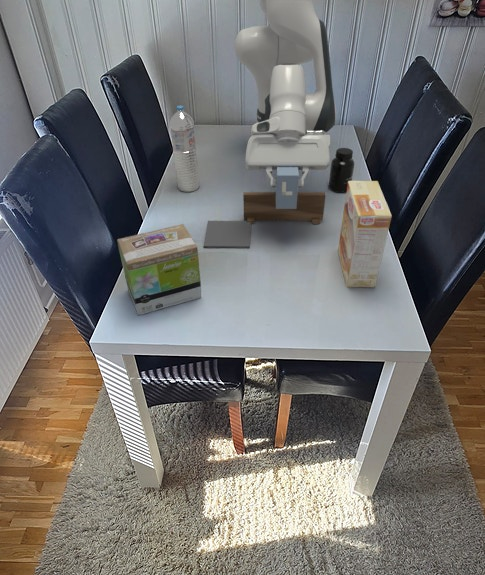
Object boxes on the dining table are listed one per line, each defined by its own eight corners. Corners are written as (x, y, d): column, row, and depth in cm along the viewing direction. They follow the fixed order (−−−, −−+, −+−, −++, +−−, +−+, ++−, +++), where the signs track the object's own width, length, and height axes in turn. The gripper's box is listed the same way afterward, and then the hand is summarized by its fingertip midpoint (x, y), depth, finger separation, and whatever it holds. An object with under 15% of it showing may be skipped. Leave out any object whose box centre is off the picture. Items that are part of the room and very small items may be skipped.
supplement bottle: (350, 194, 135) (356, 156, 127) (327, 192, 136) (332, 155, 128) (350, 183, 140) (356, 146, 132) (328, 181, 141) (333, 145, 133)
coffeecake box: (336, 249, 114) (347, 180, 101) (364, 249, 114) (378, 179, 101) (345, 287, 103) (357, 215, 90) (376, 288, 103) (393, 215, 90)
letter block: (275, 198, 113) (276, 165, 107) (295, 198, 113) (297, 165, 107) (275, 209, 109) (277, 175, 103) (296, 209, 109) (298, 175, 103)
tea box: (138, 318, 97) (125, 264, 87) (128, 290, 104) (114, 237, 94) (203, 298, 101) (197, 245, 91) (189, 273, 108) (182, 221, 98)
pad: (208, 222, 125) (207, 220, 124) (250, 222, 124) (250, 220, 124) (203, 247, 116) (203, 246, 115) (249, 248, 115) (249, 246, 115)
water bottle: (190, 180, 144) (181, 100, 127) (204, 187, 140) (197, 106, 124) (173, 187, 140) (162, 106, 124) (187, 195, 136) (177, 112, 120)
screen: (244, 214, 128) (243, 189, 122) (321, 214, 127) (324, 189, 122) (243, 223, 124) (243, 198, 119) (323, 224, 123) (326, 198, 118)
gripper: (328, 135, 111) (328, 190, 110) (246, 135, 111) (245, 190, 111) (332, 125, 104) (332, 183, 104) (245, 125, 105) (244, 183, 104)
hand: (286, 187), depth 107 cm, fingers closed on letter block, 5 cm apart
